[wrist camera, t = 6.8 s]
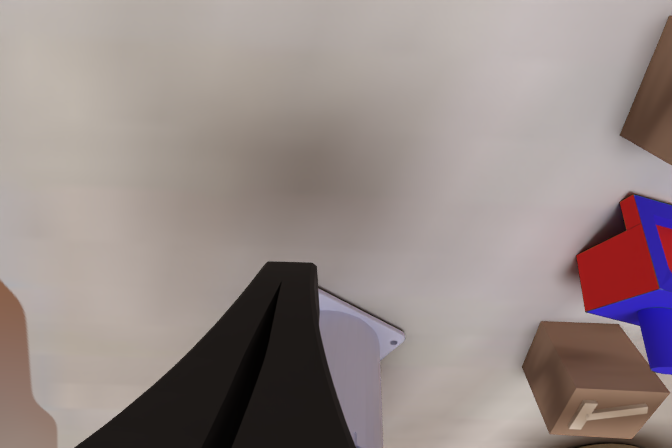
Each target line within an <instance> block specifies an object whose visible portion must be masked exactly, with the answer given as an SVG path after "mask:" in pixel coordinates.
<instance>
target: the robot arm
mask: <svg viewBox="0 0 672 448" xmlns="http://www.w3.org/2000/svg"><path fill="white" fill-rule="evenodd" d="M392 340H395V341H392ZM404 340H405V334H404V332H402V331H400V330H398V329H397V328H395V327H393V326H391V325H389V324H387V323H385V322H383V321H381V320H379V319H377V318H375V317H373V316H371V315H369V314H367V313H365V312H363V311H362V310H360V309H358V308H356V307H354V306H352V305H350V304H348V303H346V302H344V301H342V300H340V299H338V298H336V297H334V296H332V295H330V294H328V293H327V292H325V291H323V290H321V289H319V288H318V278H317V266H316V265H315V264H313V263H302V262H269V261H268V262H267V263H266V264H265V265H264V266H263V267H262V269H261V270H260V271H259V273H258V274H257V275H256V277H255V278H254V279H253V280H252V282H251V283H250V284H249V285H248V287H247V288H246V289H245V290H244V292H243V293H242V294H241V295H240V296H239V298H238V299H237V300H236V301H235V302H234V303H233V305H232V306H231V307H230V308H229V309H228V310H227V312H226V313H225V314H224V315H223V316H222V317H221V319H220V320H219V321H218V322H217V323H216V324H215V325H214V326H213V327H212V328H211V329H210V330H209V331H208V333H207V334H206V335H205V336H204V337H203V338H202V339H201V340H200V341H199V342H198V343H197V344H196V345H195V346H194V347H193V348H192V349H191V350H190V351H189V352H188V353H187V354H186V355H185V356H184V357H183V358H182V359H181V360H180V361H179V362H178V363H177V364H176V365H175V366H174V367H173V368H172V369H170V370H169V371H168V372H167V373H166V374H165V375H164V376H163V377H162V378H161V379H159V380H158V381H157V382H156V383H155V384H154V385H153V386H152V387H150V388H149V389H148V390H147V391H146V392H144V393H143V394H142V395H141V396H140V397H139V398H137V399H136V400H135V401H134V402H133V403H131V404H130V405H129V406H128V407H127V408H126V409H124V410H123V411H122V412H121V413H119V414H118V415H117V416H116V417H114V418H113V419H112V420H111V421H109V422H108V423H107V424H105V425H104V426H103V427H102V428H100V429H99V430H98V431H96V432H95V433H93V434H92V435H91V436H89V437H88V438H87V439H85V440H84V441H83V442H81V443H80V444H79V445H77V446H76V447H75V448H383V421H382V394H381V367H380V361H381V360H382V359H383V358H384V357H385V356H387V355H388V354H389V353H390V352H391V351H393V350H394V349H395V348H396V347H397V346H399V345H400V344H401V343H402V342H403V341H404Z"/></svg>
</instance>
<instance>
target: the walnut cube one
mask: <svg viewBox="0 0 672 448" xmlns="http://www.w3.org/2000/svg"><path fill="white" fill-rule="evenodd" d="M620 136H622V137H624V138H625V139H627V140H629V141H631V142H632V143H634V144H636V145H637V146H639V147H641V148H643V149H644V150H646V151H648V152H650V153H651V154H653V155H655V156H657V157H658V158H660V159H662V160H663V161H665V162H667V163H669V164H670V165H672V16H669V18H668V20H667V23H666V25H665V27H664V30H663V32H662V35H661V37H660V39H659V42H658V44H657V47H656V49H655V51H654V54H653V56H652V59H651V61H650V63H649V66H648V68H647V71H646V73H645V76H644V78H643V80H642V83H641V85H640V88H639V90H638V92H637V95H636V97H635V100H634V102H633V104H632V107H631V109H630V112H629V114H628V116H627V119H626V121H625V124H624V126H623V128H622V131H621V133H620Z"/></svg>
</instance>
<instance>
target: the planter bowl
mask: <svg viewBox="0 0 672 448" xmlns="http://www.w3.org/2000/svg"><path fill="white" fill-rule="evenodd" d="M579 448H639V447H635V446H631V445H625V444H596V445H589V446H584V447H579Z"/></svg>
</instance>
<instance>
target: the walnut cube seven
mask: <svg viewBox="0 0 672 448" xmlns="http://www.w3.org/2000/svg"><path fill="white" fill-rule="evenodd" d="M522 368H523V371H524V373H525V376H526V378H527V380H528V383H529V385H530V388H531V390H532V392H533V395H534V397H535V400H536V402H537V405H538V407H539V409H540V412H541V414H542V417H543V419H544V422H545V424H546V426H547V429H548V431H549V434H556V435H573V436H590V437H607V438H624V439H632V438H633V437H634V436H635V435H636V433H637V432H638V431H639V430H640V429H641V427H642V426H643V425H644V424H645V423H646V421H647V420H648V419H649V418H650V417H651V415H652V414H653V413H654V412H655V411H656V409H657V408H658V407H659V406H660V405H661V403H662V402H663V401H664V400H665V399H666V397H667V396H668V395H669V394H670V392H669V391H668V389H667V388H666V387H665V385H664V384H663V383H662V381H661V380H660V379H659V377H658V376H657V375H656V373H655V372H653V371H651V369H650V365H649V364H648V363H647V361H646V360H645V359H644V357H643V356H642V355H641V353H640V352H639V351H638V349H637V348H636V347H635V346H634V344H633V343H632V342H631V340H630V339H629V338H628V336H627V335H626V334H625V332H624V331H623V330H622V328H621V327H620V326H619V324H600V323H574V322H548V321H541V323H540V325H539V327H538V330H537V332H536V334H535V337H534V339H533V342H532V344H531V346H530V349H529V351H528V354H527V356H526V358H525V361H524V363H523V365H522Z"/></svg>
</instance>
